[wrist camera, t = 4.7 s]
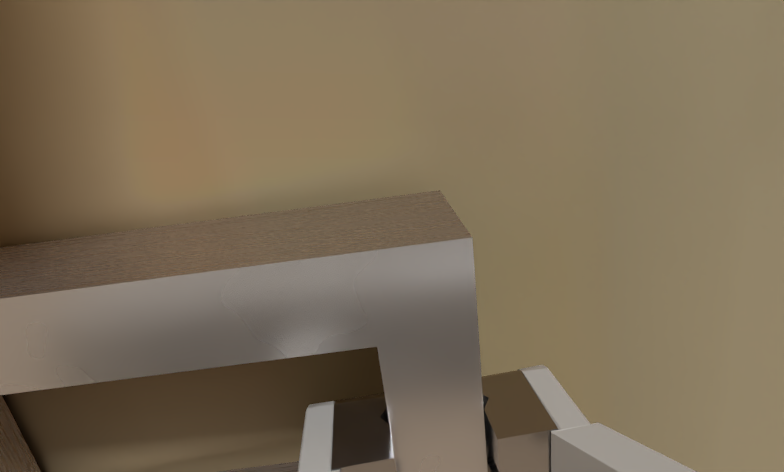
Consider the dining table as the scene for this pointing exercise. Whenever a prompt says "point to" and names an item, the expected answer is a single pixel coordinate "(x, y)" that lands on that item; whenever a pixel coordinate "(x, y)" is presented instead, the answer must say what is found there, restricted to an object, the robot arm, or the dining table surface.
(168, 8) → the dining table surface
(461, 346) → the rectangular frame
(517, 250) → the dining table surface
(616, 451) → the robot arm
